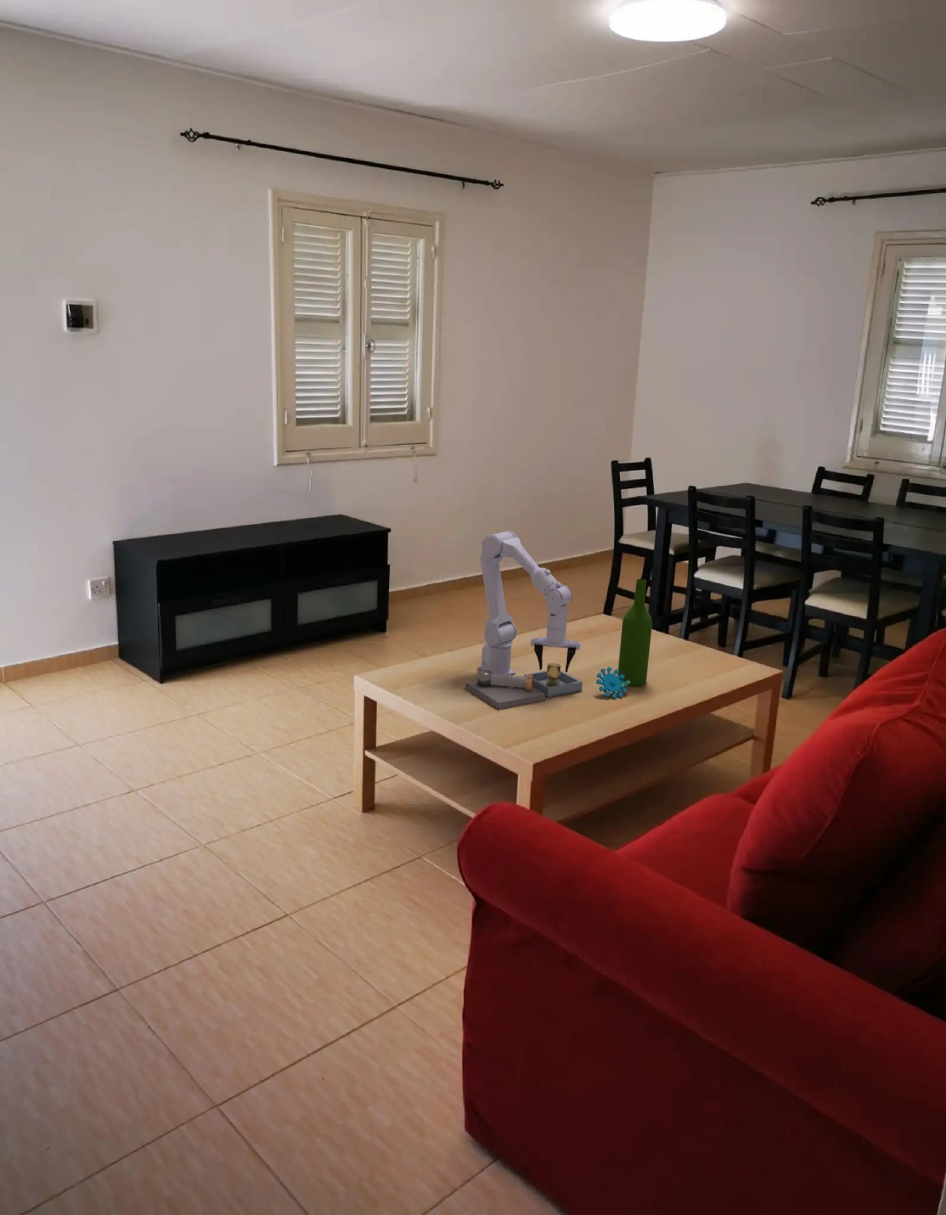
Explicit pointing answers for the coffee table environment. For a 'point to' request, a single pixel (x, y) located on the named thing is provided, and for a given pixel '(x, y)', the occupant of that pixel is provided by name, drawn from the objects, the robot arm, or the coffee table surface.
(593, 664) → the coffee table surface
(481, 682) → the lever
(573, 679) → the tray
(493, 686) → the crank plate
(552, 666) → the pin
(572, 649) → the robot arm
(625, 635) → the wine bottle
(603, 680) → the blue spiky round piece
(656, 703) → the coffee table surface
